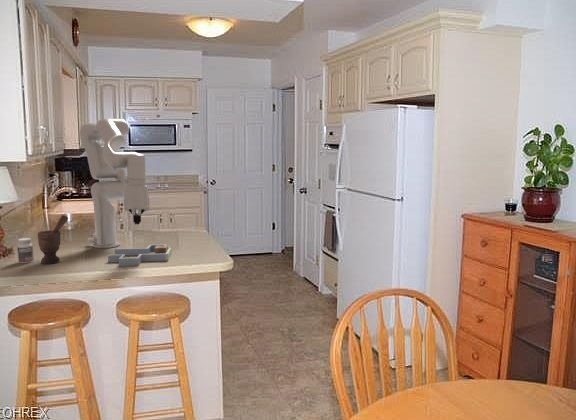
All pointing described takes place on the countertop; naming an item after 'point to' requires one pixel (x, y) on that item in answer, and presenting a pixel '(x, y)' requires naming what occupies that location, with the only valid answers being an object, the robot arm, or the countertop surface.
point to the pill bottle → (25, 250)
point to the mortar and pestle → (51, 242)
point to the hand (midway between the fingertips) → (137, 223)
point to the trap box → (142, 253)
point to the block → (161, 249)
